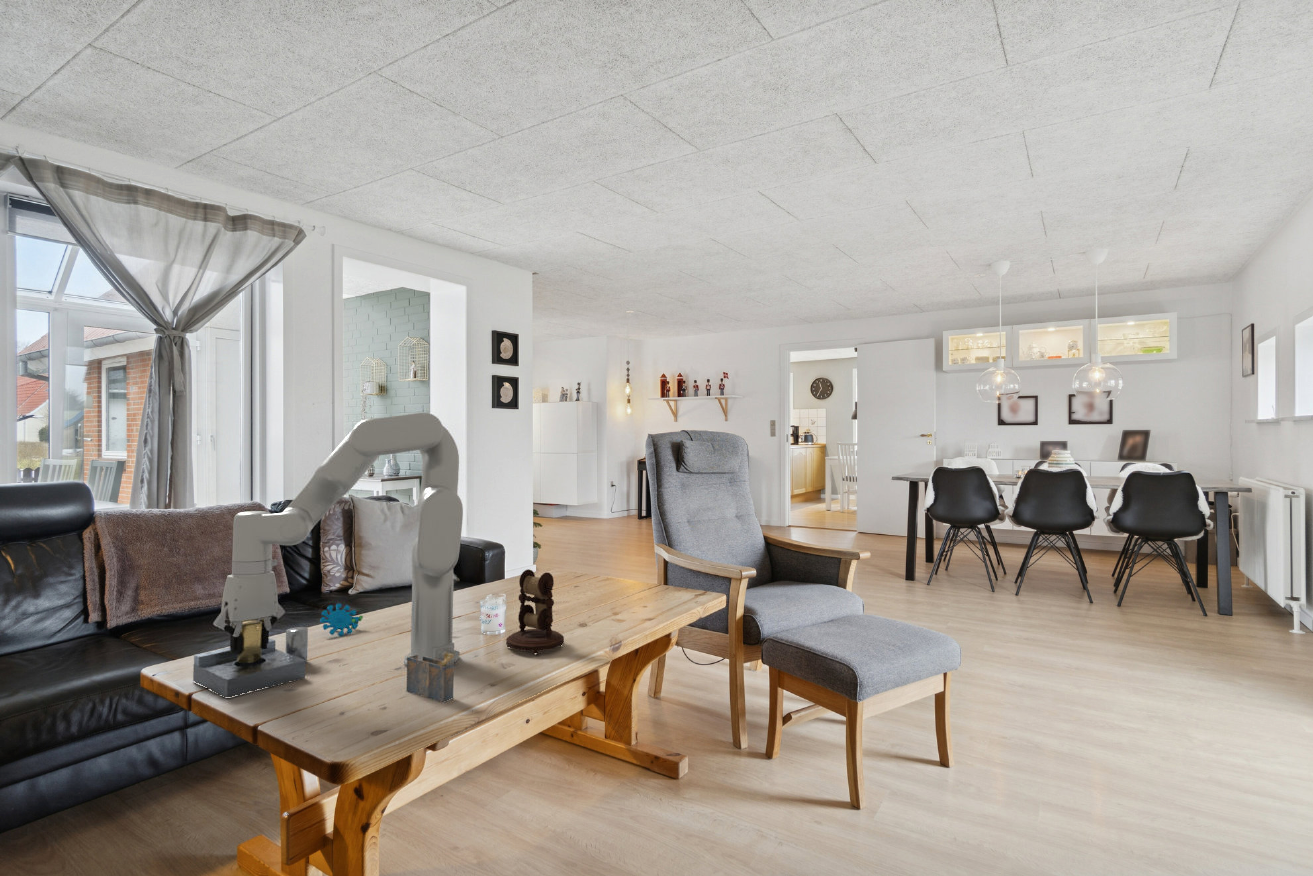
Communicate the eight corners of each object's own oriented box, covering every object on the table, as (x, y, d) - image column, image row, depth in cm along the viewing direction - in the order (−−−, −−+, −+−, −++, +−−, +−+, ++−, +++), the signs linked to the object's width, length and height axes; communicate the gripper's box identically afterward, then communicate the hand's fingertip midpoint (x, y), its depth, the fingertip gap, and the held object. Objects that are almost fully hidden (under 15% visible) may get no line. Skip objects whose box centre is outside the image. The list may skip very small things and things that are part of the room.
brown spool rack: (575, 646, 180) (576, 570, 180) (535, 660, 168) (537, 578, 168) (534, 636, 188) (535, 564, 188) (493, 649, 176) (495, 571, 176)
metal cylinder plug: (310, 663, 163) (311, 629, 163) (291, 668, 159) (292, 633, 159) (301, 659, 166) (301, 626, 166) (281, 664, 162) (282, 630, 162)
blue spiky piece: (322, 633, 182) (320, 601, 188) (315, 646, 185) (314, 614, 191) (365, 633, 189) (362, 602, 195) (358, 644, 192) (355, 614, 198)
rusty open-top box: (454, 700, 143) (455, 653, 143) (443, 704, 140) (444, 657, 140) (418, 689, 148) (419, 644, 149) (406, 693, 146) (407, 647, 146)
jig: (304, 678, 153) (305, 651, 153) (227, 699, 140) (227, 669, 140) (269, 663, 162) (270, 638, 162) (193, 682, 149) (193, 655, 149)
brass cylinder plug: (255, 655, 154) (256, 619, 154) (265, 659, 151) (266, 622, 151) (233, 660, 150) (234, 623, 150) (243, 664, 148) (244, 627, 148)
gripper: (282, 561, 160) (280, 639, 160) (201, 570, 146) (198, 656, 146) (299, 564, 156) (296, 645, 156) (217, 575, 142) (214, 663, 142)
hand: (249, 649), depth 151 cm, fingers closed on brass cylinder plug, 4 cm apart
